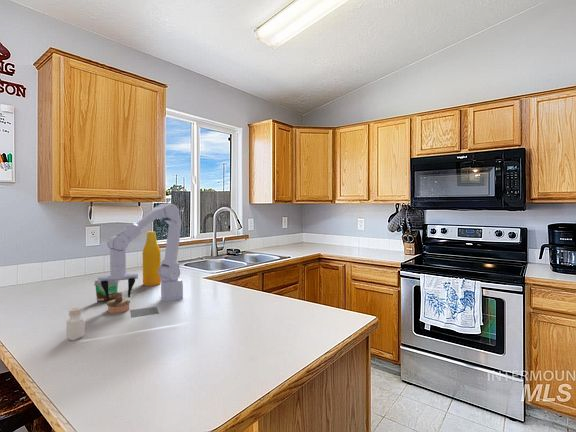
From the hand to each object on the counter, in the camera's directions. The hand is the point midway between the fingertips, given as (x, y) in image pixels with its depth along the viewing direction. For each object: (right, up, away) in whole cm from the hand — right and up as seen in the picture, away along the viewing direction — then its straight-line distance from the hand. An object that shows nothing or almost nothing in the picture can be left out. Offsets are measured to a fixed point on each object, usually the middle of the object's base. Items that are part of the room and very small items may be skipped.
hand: (118, 297), depth 134 cm
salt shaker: (0, -7, -27) cm, 28 cm away
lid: (0, -2, 0) cm, 2 cm away
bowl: (0, -5, 0) cm, 5 cm away
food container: (-12, -5, +16) cm, 21 cm away
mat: (+12, -6, -3) cm, 13 cm away
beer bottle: (-5, -4, +46) cm, 47 cm away
